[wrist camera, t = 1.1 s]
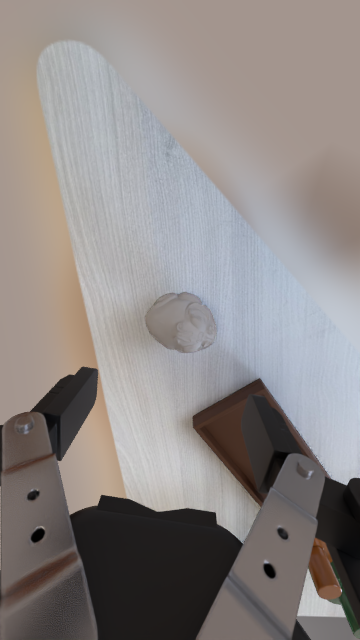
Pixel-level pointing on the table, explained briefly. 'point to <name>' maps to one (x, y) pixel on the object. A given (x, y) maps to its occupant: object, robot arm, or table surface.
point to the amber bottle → (323, 571)
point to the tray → (240, 434)
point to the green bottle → (346, 607)
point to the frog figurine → (181, 323)
